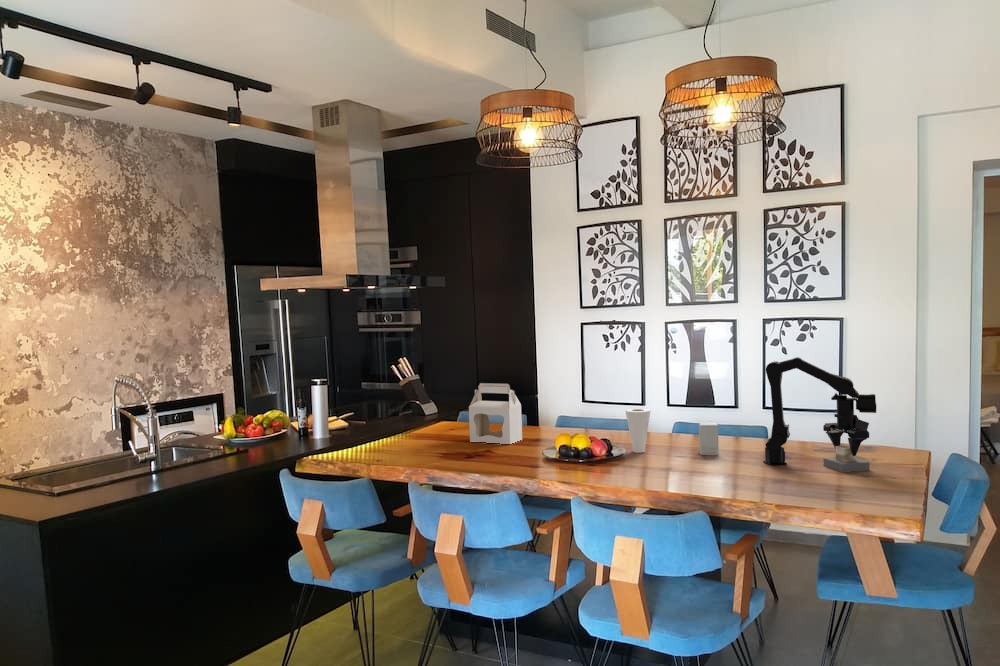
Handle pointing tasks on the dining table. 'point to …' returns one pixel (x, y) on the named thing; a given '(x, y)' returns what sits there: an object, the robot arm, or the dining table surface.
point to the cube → (844, 454)
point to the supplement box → (708, 439)
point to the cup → (638, 427)
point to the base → (846, 465)
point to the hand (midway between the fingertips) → (845, 453)
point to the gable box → (504, 408)
